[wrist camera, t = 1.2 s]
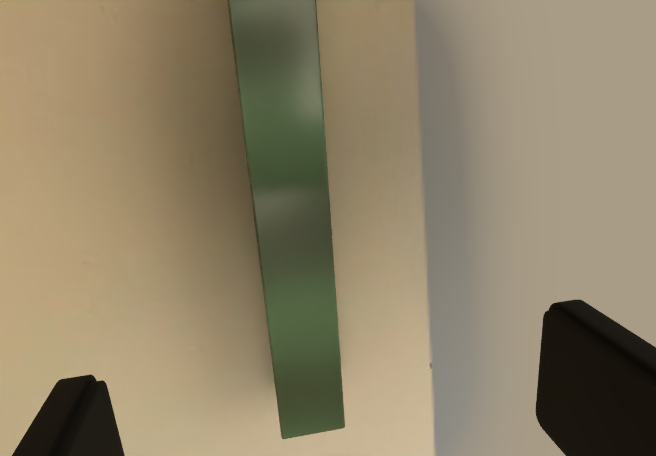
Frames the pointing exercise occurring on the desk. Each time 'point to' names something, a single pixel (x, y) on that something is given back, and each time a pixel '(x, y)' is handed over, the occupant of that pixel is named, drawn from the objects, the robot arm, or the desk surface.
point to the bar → (291, 205)
